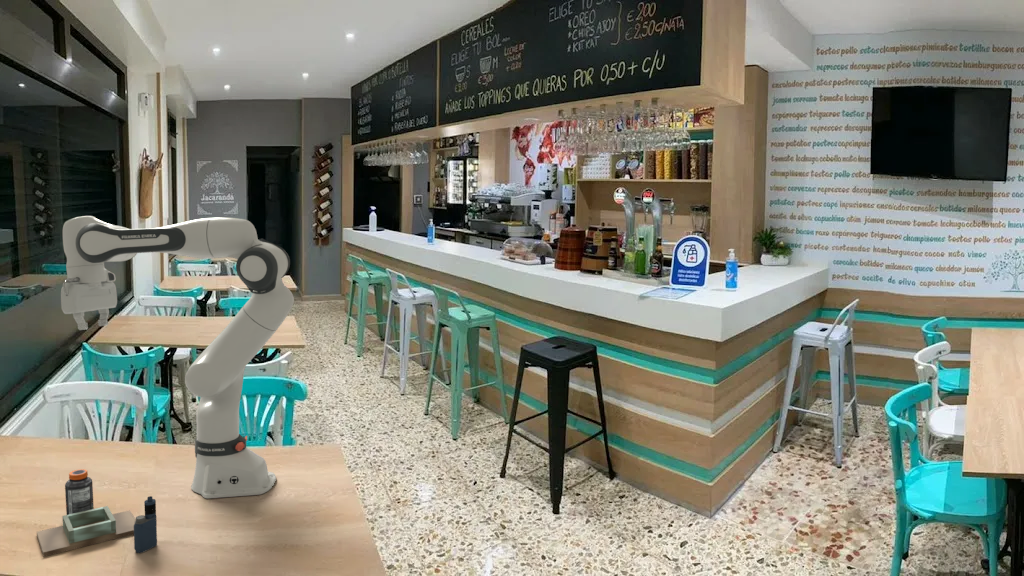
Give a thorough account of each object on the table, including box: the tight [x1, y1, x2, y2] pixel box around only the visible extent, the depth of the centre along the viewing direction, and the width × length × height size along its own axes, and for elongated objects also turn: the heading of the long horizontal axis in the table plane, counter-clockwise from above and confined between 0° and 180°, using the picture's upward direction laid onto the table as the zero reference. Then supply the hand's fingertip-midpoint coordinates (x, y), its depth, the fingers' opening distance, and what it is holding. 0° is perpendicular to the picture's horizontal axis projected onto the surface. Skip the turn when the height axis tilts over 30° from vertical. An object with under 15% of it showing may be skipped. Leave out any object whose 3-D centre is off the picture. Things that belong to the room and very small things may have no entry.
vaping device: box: [133, 495, 158, 554], centre depth 162 cm, size 3×5×12 cm, turn 155°
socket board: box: [36, 505, 136, 557], centre depth 168 cm, size 20×12×4 cm, turn 130°
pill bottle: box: [64, 468, 95, 515], centre depth 178 cm, size 6×6×11 cm
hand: (93, 327), depth 189 cm, fingers open, 8 cm apart
